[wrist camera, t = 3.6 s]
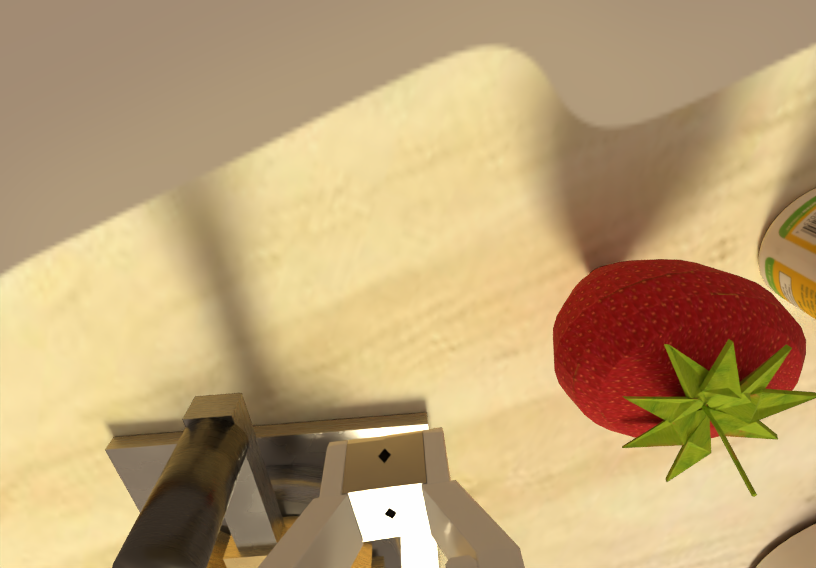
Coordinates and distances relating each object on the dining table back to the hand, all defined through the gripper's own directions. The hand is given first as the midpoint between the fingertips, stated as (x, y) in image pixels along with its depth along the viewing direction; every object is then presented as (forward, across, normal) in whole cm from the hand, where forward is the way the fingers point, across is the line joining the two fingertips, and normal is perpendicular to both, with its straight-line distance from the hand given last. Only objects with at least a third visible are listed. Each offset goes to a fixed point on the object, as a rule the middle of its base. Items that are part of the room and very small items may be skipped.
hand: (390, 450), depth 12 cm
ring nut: (+5, +8, +11) cm, 14 cm away
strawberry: (+9, -9, +1) cm, 13 cm away
